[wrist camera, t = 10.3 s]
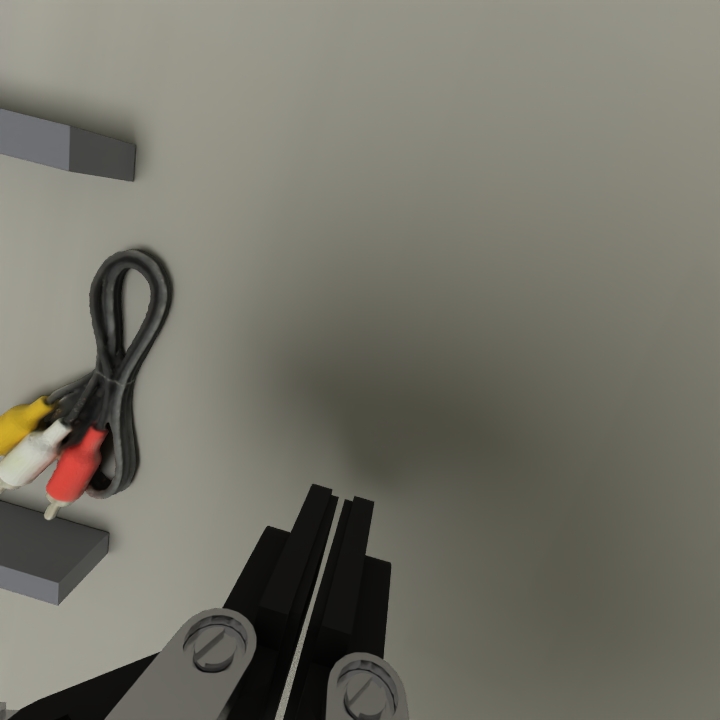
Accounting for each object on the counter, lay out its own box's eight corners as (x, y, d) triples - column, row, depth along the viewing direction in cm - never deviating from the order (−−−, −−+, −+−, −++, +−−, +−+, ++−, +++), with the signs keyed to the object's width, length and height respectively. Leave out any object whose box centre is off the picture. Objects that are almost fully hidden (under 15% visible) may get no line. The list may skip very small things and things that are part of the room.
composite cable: (130, 229, 14) (70, 229, 11) (250, 326, 14) (217, 347, 12) (8, 437, 17) (-60, 473, 14) (111, 513, 17) (62, 559, 15)
